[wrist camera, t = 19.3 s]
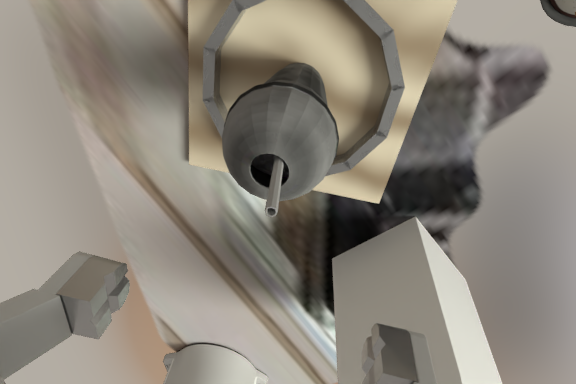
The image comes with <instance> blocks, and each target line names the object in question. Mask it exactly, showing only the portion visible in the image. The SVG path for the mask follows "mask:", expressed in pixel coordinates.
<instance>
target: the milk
mask: <svg viewBox="0 0 576 384" xmlns="http://www.w3.org/2000/svg"><path fill="white" fill-rule="evenodd" d="M332 268H333V289H334V310H335V331H336V352H337V373H338V384H362V382H363V380H364V378H365V376H366V374H365V372H364V371H363V369H362V361H361V360H362V350H363V346H364V343H365V341H366V339H367V338H368V337H370V336H372V335H371V329H372V327H373V325H374V324H376V323H378V324H383V325H387V326H392V327H396V328H401V329H405V330H407V331H412V332H416V333H421V334H424V335H425V337H426V339H427V343H428V348H429V352H430V357H431V361H432V365H433V370H434V374H435V378H436V383H437V384H502V381H501V379H500V376H499V373H498V370H497V367H496V364H495V362H494V359H493V356H492V353H491V350H490V348H489V345H488V342H487V339H486V336H485V334H484V330H483V328H482V325H481V322H480V319H479V316H478V313H477V311H476V308H475V305H474V302H473V299H472V296H471V294H470V291H469V288H468V285H467V283H466V280H465V279H464V277H463V276H462V275H461V273H460V272H459V271H458V270H457V268H456V267H455V266H454V265H453V263H452V262H451V261H450V260H449V258H448V257H447V256H446V254H445V253H444V252H443V251H442V249H441V248H440V247H439V246H438V244H437V243H436V242H435V241H434V239H433V238H432V237H431V236H430V234H429V233H428V232H427V230H426V229H425V228H424V227H423V225H422V224H421V223H420V222H419V220H418V219H417V218H416V217H413V218H411V219H409V220H407V221H405V222H403V223H402V224H400V225H398V226H396V227H394V228H392V229H390V230H388V231H386V232H384V233H382V234H380V235H378V236H376V237H374V238H372V239H370V240H368V241H366V242H364V243H362V244H360V245H358V246H356V247H354V248H352V249H350V250H348V251H346V252H344V253H342V254H340V255H338V256H336V257H334V258H332Z"/></svg>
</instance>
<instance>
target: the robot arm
mask: <svg viewBox="0 0 576 384" xmlns="http://www.w3.org/2000/svg"><path fill="white" fill-rule="evenodd" d="M127 271H128V270H127V265H126V264H125V263H121V262H117V261H113V260H110V259H106V258H103V257H99V256H95V255H91V254H87V253H82V252H77V253H76V254H74V255H72V256H71V258H69V260H67V261H66V262H65V263H64V264H63V265H62V266H61V267H60V268H59V270H58V271H56V272H55V274H53V275H52V276H51V278H49V279H48V281H46V282H45V284H43V285H42V286H41V287H40V288H39V290H35V289H32V290H30V291H28V292H25V293H23V294H21V295H18V296H16V297H13V298H11V299H9V300H6V301H4V302H2V303H0V384H5V382H4V379H6V378H7V377H9V376H10V375H12V374H13V373H15V372H16V371H18V370H19V369H21V368H22V367H24V366H25V365H27V364H28V363H30V362H32V361H33V360H35V359H36V358H38V357H39V356H41V355H42V354H44V353H45V352H47V351H49V350H50V349H51V348H53V347H55V346H56V345H58V344H59V343H61V342H62V341H64V340H65V339H67V338H68V337H70V336H71V335H72V334H76V335H81V336H85V337H90V338H95V339H99V338H100V337H101V336H102V334H103V333H104V331H105V330H106V328H107V326H108V325H109V324H110V323H111V321H112V319H111V314H112V313H113V312H115V311H117V310H119V309H120V308H121V307H122V305H123V303H124V302H125V300H126V297H127V295H128V293H129V286H130V285H129V280H128V279H127V278H126V277H125V274H126V273H127ZM371 335H372V336H370V337H368V338H367V339H366V341H365V343H364V346H363V350H362V360H361V361H362V369H363V371H364V372H365V374H366V376H365V378H364V380H363V382H362V384H437V383H436V378H435V374H434V370H433V365H432V361H431V357H430V352H429V348H428V343H427V339H426V337H425V335H424V334H421V333H416V332H412V331H407V330H405V329H401V328H396V327H392V326H387V325H383V324H378V323H376V324H374V325H373V327H372V329H371ZM163 362H164V365H165V367H166V369H167V372H168V373H167V375H166V378H165V381H164V383H163V384H267V381H268V377H267V376H266V375H265V374H263V373H261V372H260V371H258V370H257V369H255V368H254V366H253V365H252V364H251V363H250V362H249V361H248V360H247V359H246V358H244V357H243V356H241V355H240V354H238V353H236V352H234V351H232V350H229V349H227V348H224V347H220V346H215V345H207V344H198V345H191V346H188V347H186V348H184V349H182V350H181V351H179V352H176V353H170V354H166V355H165V357H164V361H163Z"/></svg>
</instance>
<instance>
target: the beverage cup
mask: <svg viewBox="0 0 576 384" xmlns="http://www.w3.org/2000/svg"><path fill="white" fill-rule="evenodd" d="M338 143H339V135H338V129H337V124H336V120H335V119H334V117H333V115H332V113H331V111H330V110H329V108H328V104H327V98H326V92H325V87H324V83H323V80H322V78H321V76H320V74H319V72H318V71H317V70H316V69H315V68H314V67H312V66H310V65H308V64H306V63H298V62H297V63H293V64H289V65H287V66H286V67H284V68H282V69H281V70H279V71H278V72H277V73H276V74H274V75H273V76H272V77H271V78H270V79H269V80H267V81H266V82H265V83H264V84H260V85H256V86H254V87H252V88H251V89H249V90H247V91H246V92H244V93H243V94H241V95H240V96H239V97H238V98H237V100H236V101H235V102H234V104H233V105H232V106H231V107H230V109H229V111H228V114H227V118H226V121H225V124H224V130H223V134H222V150H223V157H224V160H225V162H226V165H227V168H228V170H229V172H230V174H231V175H232V176H233V178H234V179H235V180H236V182H237V183H238V184H239V185H240V186H241V187H242V188H244V189H245V190H246V191H248V192H249V193H250V194H253V195H255V196H258V197H260V198H262V199H266V200H267V202H266V208H265V213H266V215H267V216H269V217H274V216H276V214H277V212H278V204H279V201H284V200H291V199H295V198H297V197H300V196H302V195H304V194H306V193H309V192H310V191H311V190H312V189H313V188H314V187H315V186H317V185H318V184H319V183H320V182H321V181H322V180H323V179H324V177H325V176H326V174H327V172H328V170H329V168H330V167H331V165H332V163H333V161H334V159H335V157H336V155H337V149H338Z"/></svg>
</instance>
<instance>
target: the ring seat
mask: <svg viewBox="0 0 576 384" xmlns="http://www.w3.org/2000/svg"><path fill="white" fill-rule="evenodd" d="M456 3H457V0H188V79H189V165H194V166H199V167H204V168H209V169H214V170H218V171H223V172H228V173H230V172H229V170H228V168H227V165H226V162H225V160H224V157H223V150H222V134H223V130H224V124H225V121H226V118H227V114H228V111H229V109H230V107H231V106H232V105H233V104H234V102H235V101H236V100H237V98H238V97H239V96H240V95H241V94H243V93H244V92H246V91H247V90H249V89H251V88H252V87H254V86H256V85H260V84H264V83H265V82H266V81H267V80H269V79H270V78H271V77H272V76H273V75H274V74H276V73H277V72H278V71H279V70H281V69H282V68H284V67H286V66H287V65H289V64H293V63H297V62H298V63H306V64H308V65H310V66H312V67H314V68H315V69H316V70H317V71H318V72H319V74H320V76H321V78H322V80H323V83H324V87H325V92H326V98H327V104H328V108H329V110H330V111H331V113H332V115H333V117H334V119H335V120H336V124H337V129H338V135H339V143H338V149H337V155H336V157H335V159H334V161H333V163H332V165H331V167H330V168H329V170H328V172H327V174H326V176H325V177H324V179H323V180H322V181H321V182H320V183H319V184H318V185H317V186H315V187H314V188H313V189H312V190H315V191H320V192H325V193H330V194H335V195H340V196H344V197H349V198H354V199H359V200H364V201H369V202H373V203H378V204H379V202H380V200H381V197H382V194H383V192H384V189H385V187H386V184H387V181H388V179H389V176H390V174H391V171H392V168H393V166H394V163H395V161H396V158H397V156H398V153H399V150H400V148H401V145H402V143H403V140H404V137H405V135H406V132H407V130H408V127H409V124H410V122H411V119H412V117H413V114H414V112H415V109H416V106H417V104H418V101H419V99H420V96H421V93H422V91H423V88H424V86H425V83H426V81H427V78H428V75H429V73H430V70H431V68H432V65H433V62H434V60H435V57H436V55H437V52H438V49H439V47H440V44H441V42H442V39H443V37H444V34H445V31H446V29H447V26H448V24H449V21H450V18H451V16H452V13H453V11H454V8H455V5H456Z"/></svg>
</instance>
